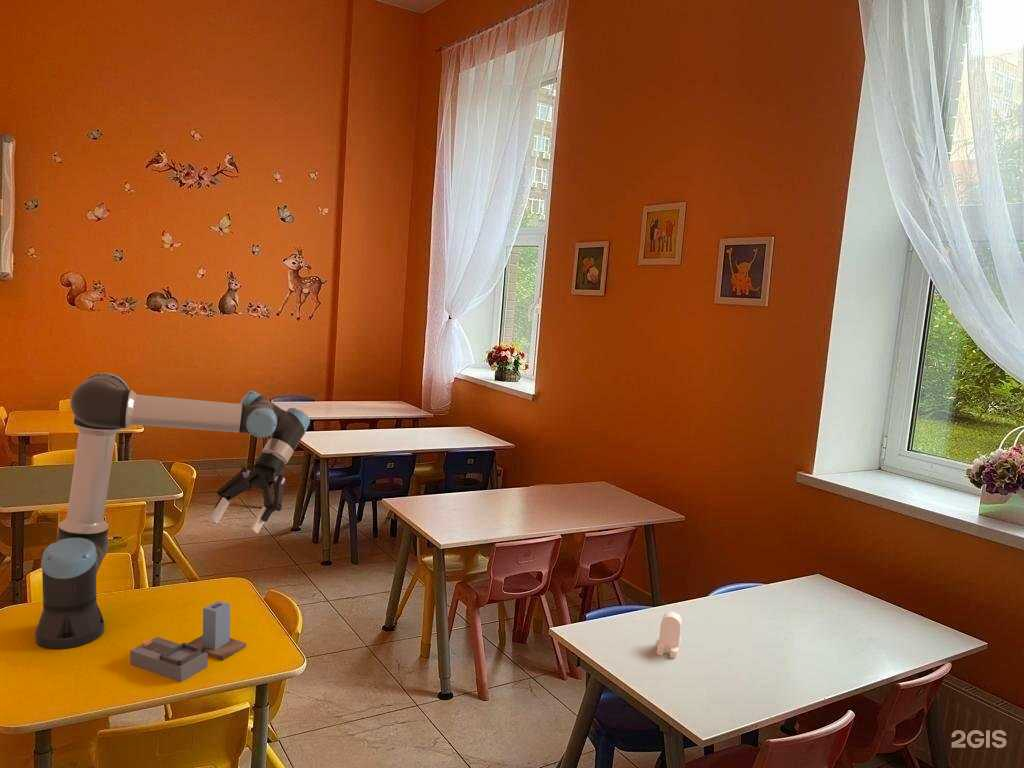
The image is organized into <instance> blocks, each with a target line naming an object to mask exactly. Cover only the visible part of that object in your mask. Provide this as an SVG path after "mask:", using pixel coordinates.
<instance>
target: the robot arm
mask: <svg viewBox="0 0 1024 768" xmlns="http://www.w3.org/2000/svg"><path fill="white" fill-rule="evenodd" d="M70 408H71V409H70V410H71V412H72V414H73V426H75V427H76V428H77V430H78V436H77V443H76V450H75V456H74V464H73V472H72V478H71V485H70V492H69V499H68V505H67V513H66V518H64V519H63V520H62V521H60V522H59V524H58V528H57V529H58V531H57V537H56V542H52V543H50V544H49V545H48V546H47V547H46V548H45V549H44V551H43V552H42V556H41V557H42V559H41V563H40V565H41V569H42V570H41V571H42V573H41V574H42V610H41V611H42V612H41V615H40V617H39V621H38V623H37V626H36V629H35V634H34V637H35V638H34V639H35V643H36V644H37V645H38V646H41V647H43V648H46V649H69V648H75V647H80V646H83V645H86V644H89V643H92V642H94V641H95V640H97V639H99V638H100V637H101V636H102V635H103V634H104V633H105V619H104V617H103V614H102V612H101V610H100V607H99V604H98V602H97V574H98V571H99V569H100V568H101V564H102V562H103V561H104V559H105V558H106V557H105V556H106V555H107V552H108V549H109V544H108V543H109V541H108V533H109V523H108V522H106V521H105V519H104V516H105V510H106V504H107V496H108V489H109V484H110V476H111V475H110V474H111V469H112V463H113V456H114V455H113V454H114V449H115V443H116V436H117V435H116V434H117V433H119V432H120V431H122V430H123V429H129V428H131V426H143V427H144V426H145V427H155V428H156V427H157V428H158V427H159V428H170V429H171V428H172V429H186V430H195V431H197V430H199V431H210V432H211V431H212V432H213V431H214V432H225V433H226V432H227V433H239V434H247V435H251V436H253V437H256V438H260V439H262V438H263V439H264V438H268V437H269V436H270V437H269V439H268V441H267V442H266V444H265V445H264V447H263V449H262V450H261V452H260V453H259V455H258V457H257V458H256V460H255V461H254V467H253V468H252V469H251V470H249V469H247V468H246V467H244V466H243V467H242V468H241V469H240V471H239V472H238V473H237V474H236V475H235V476H234V477H232V478H231V479H230V480H229V481H227V482H226V483H225V484H224V485H223V486H221V487H220V488H219V489H217V490H216V494H217V495H218V496H219V499H218V501H217V503H216V504H215V505H214V510H213V512H212V513H211V515H210V517H209V520H210V521H211V522H213V523H214V524H215V525H216V524H218V523H219V521H220V520H221V518H222V516H223V515H224V513H225V512H226V510H227V508H228V507H229V505H230V502H229V501H230V500H233V498H235V497H237V496H239V495H240V494H242V493H244V492H246V491H248V490H251V489H255V490H257V489H258V490H261V491H263V493H264V500H265V505H264V506H262V508H261V510H260V511H259V513H258V514H257V516H256V517H255V519H254V522H253V523H252V525H251V526H250V530H252V532H253V533H254V534H259V532H260V530H261V529H262V527H263V526H264V523H266V522H268V521H269V518H270V517H271V515H272V514H273V512H276V511H277V512H280V511H282V508H283V498H284V487H285V486H286V483H287V479H286V478H285V477H284V476H283V475H282V473H283V472H284V470H285V468H286V465H287V464H288V463H289V460H290V459H291V457H292V455H293V454H294V452H295V450H296V448H297V447H298V445H299V443H300V442H301V440H302V439H303V437H304V435H305V434H306V432H307V429H308V428H309V426H310V423H311V420H310V417H309V415H307V413H305V411H303V410H300V409H298V408H297V407H289V408H288V409H287V410H285V409H283V408H280V407H279V406H278V405H277V404H275V403H273V402H272V401H270V400H269V399H268V398H266V397H265V396H263V395H262V394H260V393H258V392H256V391H254V390H249V391H248V392H247V393H245V394H244V396H243V397H242V399H241V400H240V401H239V403H233V402H231V403H230V402H223V401H222V402H220V401H209V400H199V399H188V398H180V397H179V398H177V397H167V396H156V395H145V394H137V393H136V392H135V391H134V390H133V389H129V386H128V385H127V383H126V381H124V380H123V379H122V378H121V377H120V376H118V375H115V374H113V373H107V372H104V373H103V372H102V373H97V374H93V375H90V376H89V377H87V378H86V379H84V380H83V382H82V383H81V384H79V385H78V386H77V387H76V388H75V390H74V391H73V392H72V395H71V397H70ZM273 484H274V491H273V488H272V485H273ZM273 492H274V495H273Z"/></svg>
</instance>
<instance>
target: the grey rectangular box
mask: <svg viewBox="0 0 1024 768" xmlns="http://www.w3.org/2000/svg"><path fill="white" fill-rule="evenodd" d="M187 643H188V642H182V643H178V642H175V641H172V640H169V639H166V638H163V637H160V636H156V637H155V638H153V639H151V638H148V639H146V640H144V641H141V642H140V644H141V645H138V646H136V647H134V648H132V649H130V650H129V665H131V666H134V667H136V668H140V669H143V670H145V671H147V672H151V673H153V674H157V675H159V676H162V677H166V678H168V679H171V680H174V681H176V682H180V683H182V682H185V681H186V680H188V679H190V678H191V677H192V676H195V675H196V674H198V673H199V672H202V671H203V670H205V669H206V668H208V657H209V656H208V653H206V652H204V649H202V648H199V647H196V646H193V645H190V644H187Z"/></svg>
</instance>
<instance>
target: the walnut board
mask: <svg viewBox="0 0 1024 768" xmlns="http://www.w3.org/2000/svg"><path fill="white" fill-rule="evenodd" d="M186 643H187V644H190V645H193V646H196V647H199V648H202V649H204V652H206V653H208V657H211V658H215V659H217V660H220V661H224V660H227V659H228V658H230V657H231V656H234V655H235V654H236V653H238V652H241V649H242V650H243V649H245V648H246V647H247V642H244V641H240V640H239V639H235V638H231V637H230V642H228V643H226V644H225V645H223V646H221V647H219V648H218V649H216V650H214V649H211V648H208V647H204V646H203V634H202V635H201V636H199V637H197V638H195V639H194V640H193V639H192V640H191V641H189V642H186Z"/></svg>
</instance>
